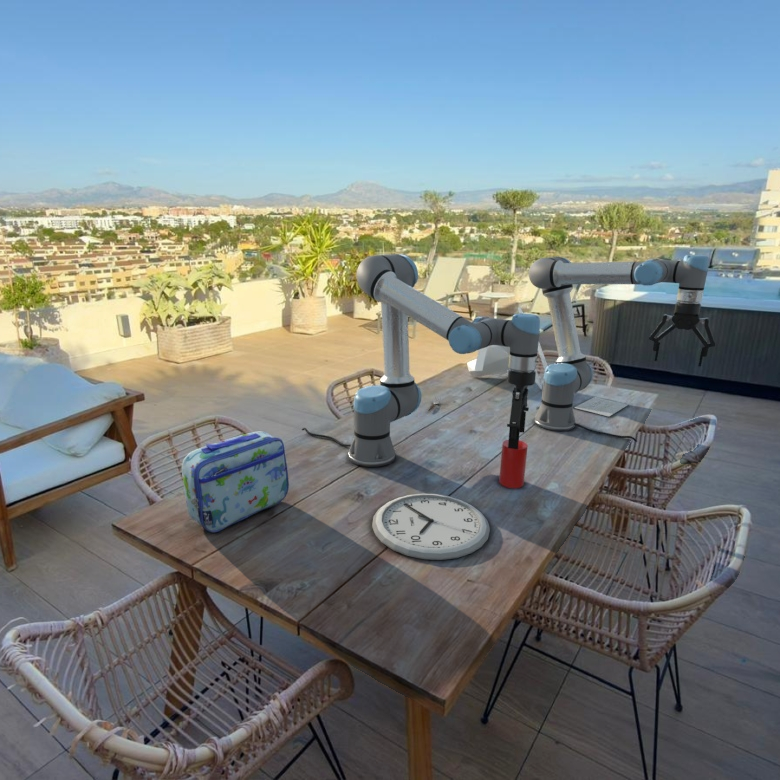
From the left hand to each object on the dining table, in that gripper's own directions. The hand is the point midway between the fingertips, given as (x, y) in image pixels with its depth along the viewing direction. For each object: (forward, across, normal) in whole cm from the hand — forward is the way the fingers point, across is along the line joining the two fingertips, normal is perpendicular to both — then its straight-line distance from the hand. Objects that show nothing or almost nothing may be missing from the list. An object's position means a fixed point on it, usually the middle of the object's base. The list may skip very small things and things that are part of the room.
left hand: (516, 439), depth 153 cm
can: (+14, 0, 0) cm, 14 cm away
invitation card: (+14, +87, -25) cm, 91 cm away
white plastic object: (+13, +106, +19) cm, 108 cm away
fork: (+13, +58, +42) cm, 73 cm away
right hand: (-15, +57, -47) cm, 75 cm away
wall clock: (+14, -32, +16) cm, 38 cm away
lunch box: (+13, -46, +64) cm, 80 cm away
